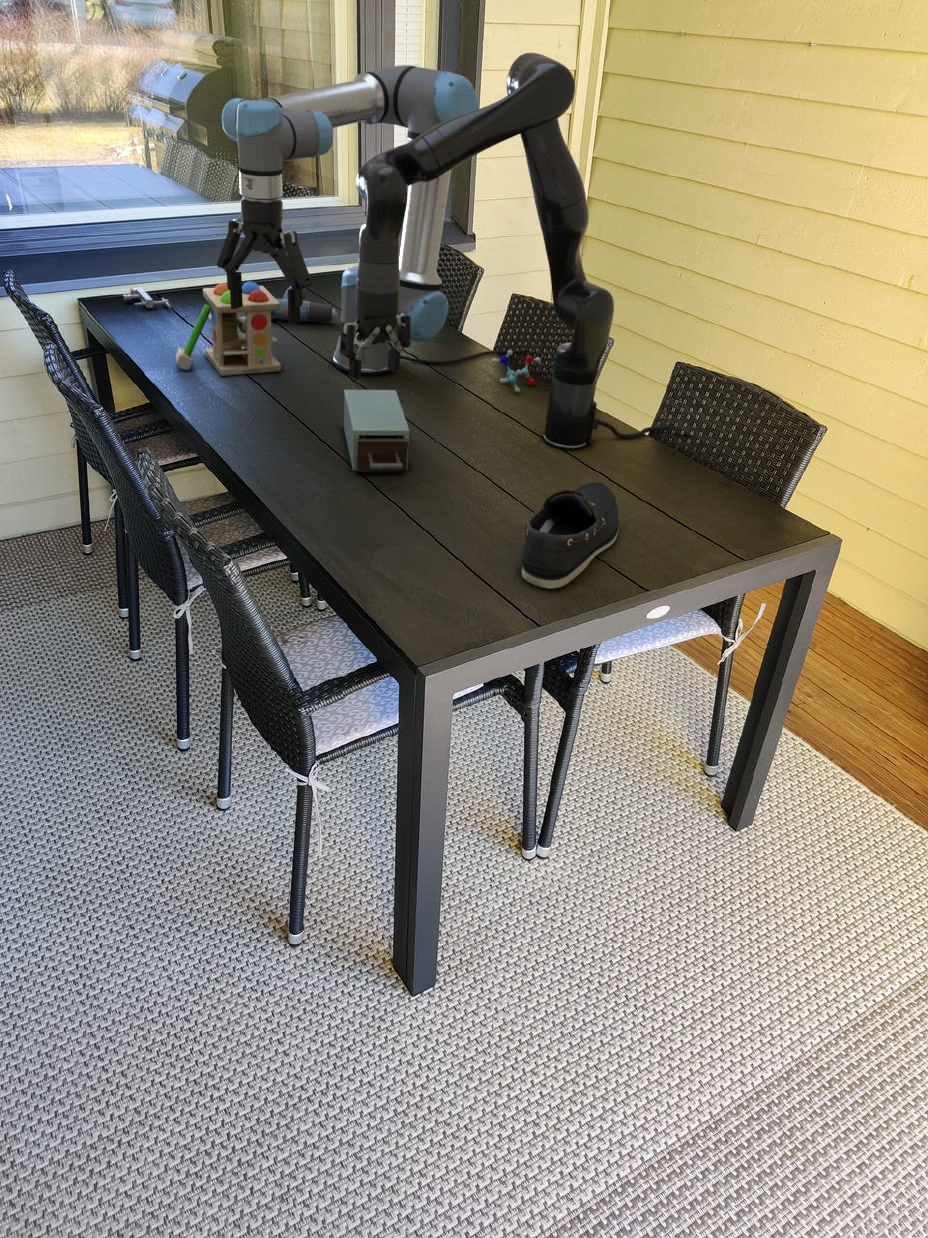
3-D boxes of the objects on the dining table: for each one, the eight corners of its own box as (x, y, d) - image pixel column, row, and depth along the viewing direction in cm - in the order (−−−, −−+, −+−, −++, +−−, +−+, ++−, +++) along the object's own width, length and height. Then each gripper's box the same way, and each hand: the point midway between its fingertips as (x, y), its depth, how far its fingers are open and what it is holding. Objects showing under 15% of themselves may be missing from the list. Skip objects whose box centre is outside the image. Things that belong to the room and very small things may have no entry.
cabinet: (407, 470, 192) (409, 430, 188) (352, 470, 190) (353, 430, 186) (394, 427, 209) (395, 389, 204) (343, 427, 207) (344, 389, 202)
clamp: (119, 288, 264) (156, 285, 268) (120, 296, 265) (157, 294, 269) (133, 305, 253) (172, 302, 258) (134, 313, 254) (173, 310, 259)
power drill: (344, 304, 276) (335, 327, 259) (277, 298, 275) (264, 321, 258) (344, 285, 273) (335, 306, 256) (277, 279, 272) (264, 300, 255)
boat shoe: (641, 524, 182) (650, 473, 177) (559, 595, 158) (566, 538, 153) (580, 505, 188) (586, 455, 182) (491, 571, 164) (495, 515, 158)
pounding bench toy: (183, 379, 220) (176, 299, 210) (169, 357, 231) (162, 280, 221) (282, 371, 230) (280, 294, 220) (264, 350, 240) (262, 276, 230)
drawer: (410, 485, 185) (412, 454, 181) (360, 486, 183) (361, 455, 179) (393, 430, 205) (395, 401, 201) (348, 430, 203) (348, 401, 199)
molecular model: (536, 384, 226) (523, 342, 225) (499, 398, 230) (486, 357, 228) (548, 383, 237) (536, 343, 235) (513, 396, 240) (500, 357, 239)
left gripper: (193, 188, 179) (201, 305, 191) (306, 213, 170) (307, 333, 182) (219, 183, 184) (226, 296, 196) (330, 206, 176) (330, 324, 188)
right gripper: (357, 296, 166) (355, 387, 175) (422, 286, 174) (417, 374, 183) (332, 284, 170) (330, 374, 179) (396, 275, 178) (392, 361, 188)
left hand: (265, 315), depth 189 cm, fingers open, 13 cm apart
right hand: (374, 374), depth 181 cm, fingers open, 8 cm apart
